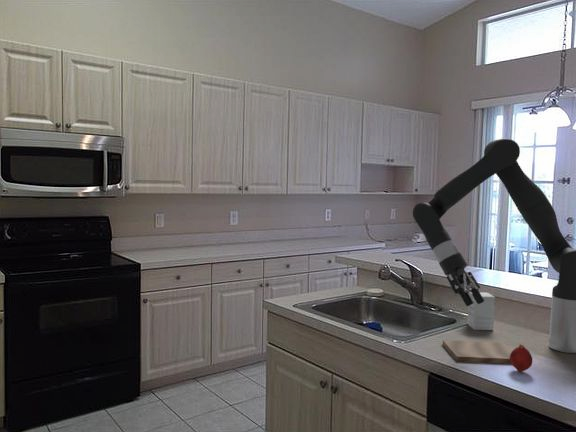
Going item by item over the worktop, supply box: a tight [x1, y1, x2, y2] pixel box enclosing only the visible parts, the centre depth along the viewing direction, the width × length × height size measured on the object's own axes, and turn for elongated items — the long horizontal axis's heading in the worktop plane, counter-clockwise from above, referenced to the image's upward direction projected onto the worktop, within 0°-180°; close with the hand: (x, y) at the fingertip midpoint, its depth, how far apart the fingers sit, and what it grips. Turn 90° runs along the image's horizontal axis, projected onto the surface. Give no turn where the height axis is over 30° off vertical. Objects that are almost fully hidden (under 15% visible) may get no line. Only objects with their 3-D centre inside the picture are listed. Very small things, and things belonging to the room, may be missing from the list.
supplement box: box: [466, 291, 496, 331], centre depth 179 cm, size 7×7×13 cm
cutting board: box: [442, 339, 514, 365], centre depth 150 cm, size 20×15×2 cm
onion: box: [510, 343, 533, 373], centre depth 136 cm, size 6×6×8 cm
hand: (476, 303), depth 147 cm, fingers open, 8 cm apart
